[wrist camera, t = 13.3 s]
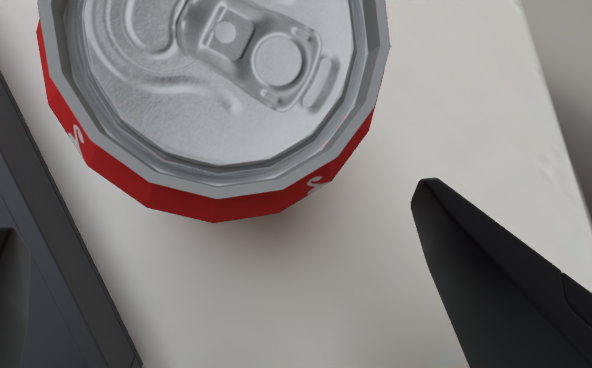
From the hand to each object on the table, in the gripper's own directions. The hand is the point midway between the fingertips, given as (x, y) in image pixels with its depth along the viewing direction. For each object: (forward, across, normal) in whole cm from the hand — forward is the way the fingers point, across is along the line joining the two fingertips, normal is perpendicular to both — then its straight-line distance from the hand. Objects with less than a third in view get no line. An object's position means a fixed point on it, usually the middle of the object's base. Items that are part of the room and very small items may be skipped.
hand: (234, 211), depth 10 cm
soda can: (+8, 0, +4) cm, 9 cm away
